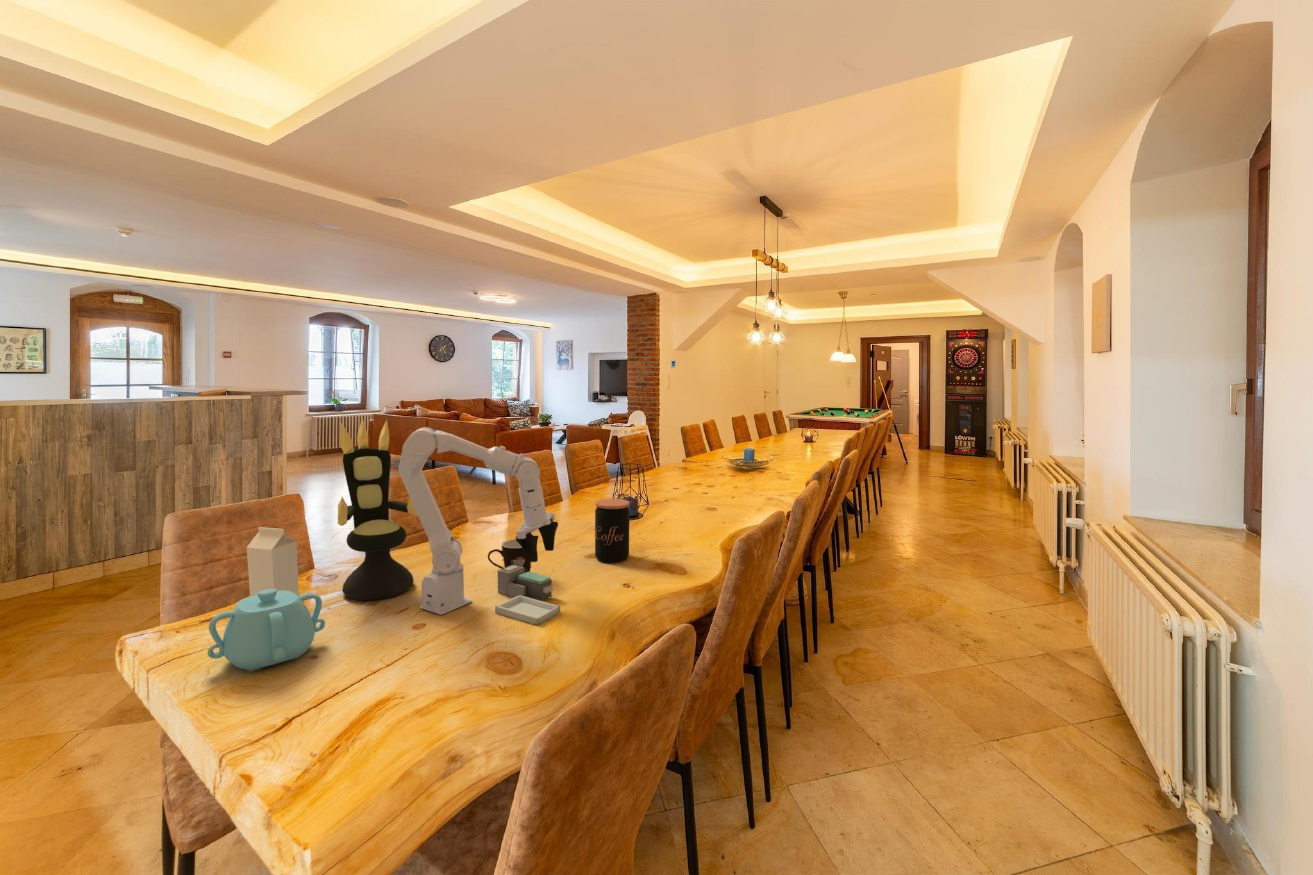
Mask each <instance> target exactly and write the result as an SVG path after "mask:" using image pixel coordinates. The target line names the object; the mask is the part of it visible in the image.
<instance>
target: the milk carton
mask: <svg viewBox="0 0 1313 875" xmlns="http://www.w3.org/2000/svg"><path fill="white" fill-rule="evenodd" d="M297 550H298V548H297V541H296V540H295V539H293V538H292V537H291V536H288V535H287V534H286V533H285V529H284V528H274V527H261V526H259V527H258V532H257V533H256V535H255V536H254V537H253V539H251V541H250V543H249V544H248V545H247V546H246V557H247V572H248V586H249V589H248V590H249V597H251V596H254V595H255V594H256V593H258V592H260V591H262V590H266V589H276V590H277V591H283V590H284V591H291V592H293V593H295V594H296V595H298V597H299V596H300V588H299V586H300V585H299V568H298V552H297Z"/></svg>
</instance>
